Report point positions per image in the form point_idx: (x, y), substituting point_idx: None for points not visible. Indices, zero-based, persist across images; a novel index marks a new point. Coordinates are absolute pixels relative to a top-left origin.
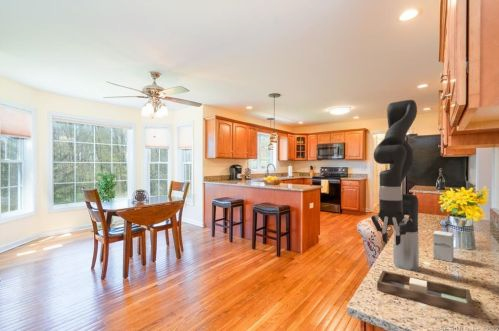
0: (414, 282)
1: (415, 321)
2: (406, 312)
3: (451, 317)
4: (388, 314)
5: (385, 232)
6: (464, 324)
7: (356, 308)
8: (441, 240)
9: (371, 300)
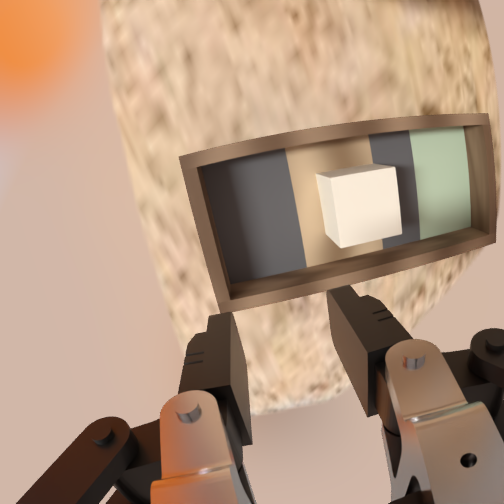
0: (358, 224)
1: None
2: None
3: (433, 265)
4: (299, 380)
5: (244, 469)
6: (453, 275)
7: None
8: None
9: None
